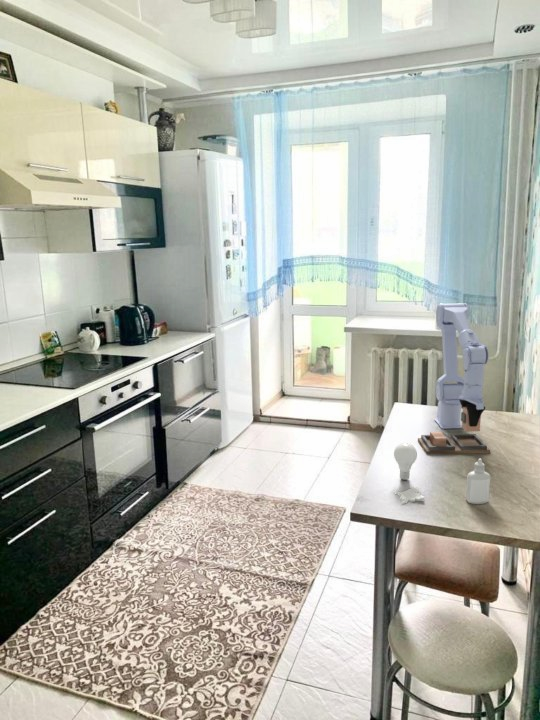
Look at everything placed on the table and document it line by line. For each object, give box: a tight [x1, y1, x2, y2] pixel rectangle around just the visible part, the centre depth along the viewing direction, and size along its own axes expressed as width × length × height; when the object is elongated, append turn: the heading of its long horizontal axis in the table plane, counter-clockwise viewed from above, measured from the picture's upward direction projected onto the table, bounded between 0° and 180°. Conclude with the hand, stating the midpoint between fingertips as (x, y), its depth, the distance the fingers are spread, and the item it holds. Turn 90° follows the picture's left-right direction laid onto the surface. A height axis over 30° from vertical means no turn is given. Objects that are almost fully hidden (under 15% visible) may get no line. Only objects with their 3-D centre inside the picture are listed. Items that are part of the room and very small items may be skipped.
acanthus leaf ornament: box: [394, 487, 425, 505], centre depth 144 cm, size 8×7×2 cm
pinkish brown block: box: [460, 407, 482, 433], centre depth 172 cm, size 4×5×7 cm
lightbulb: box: [393, 442, 418, 481], centre depth 152 cm, size 6×6×11 cm
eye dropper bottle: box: [465, 458, 491, 505], centre depth 139 cm, size 4×6×12 cm
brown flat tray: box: [417, 431, 491, 455], centre depth 174 cm, size 11×20×4 cm, turn 89°
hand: (470, 423), depth 173 cm, fingers closed on pinkish brown block, 4 cm apart
